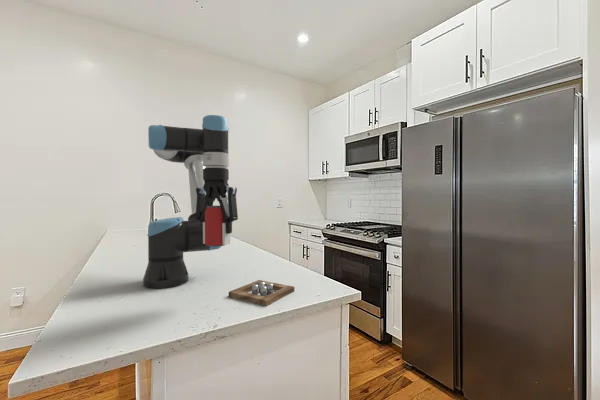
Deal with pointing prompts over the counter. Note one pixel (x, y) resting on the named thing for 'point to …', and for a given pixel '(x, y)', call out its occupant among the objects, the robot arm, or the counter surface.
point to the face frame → (263, 300)
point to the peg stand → (262, 288)
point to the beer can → (213, 226)
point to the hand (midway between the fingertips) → (216, 243)
